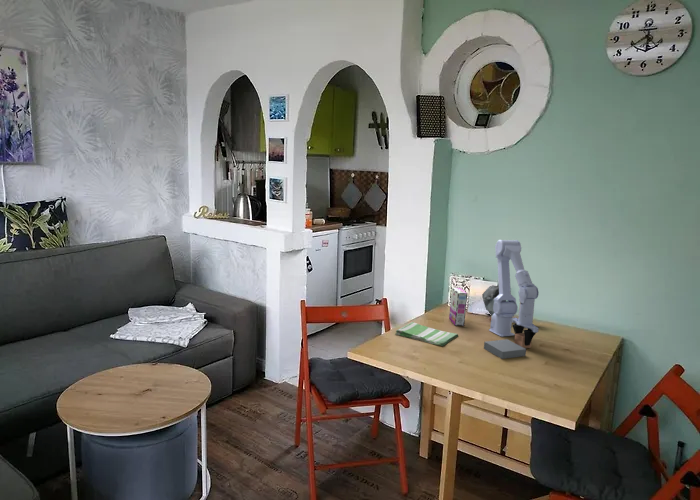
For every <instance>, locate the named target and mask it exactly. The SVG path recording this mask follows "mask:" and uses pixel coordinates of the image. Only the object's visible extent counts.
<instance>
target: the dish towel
mask: <svg viewBox="0 0 700 500" xmlns="http://www.w3.org/2000/svg"><path fill="white" fill-rule="evenodd" d="M395 335H398V336H401V337H405V338H409V339H413V340H417V341H421V342H424V343H427V344H430V345H431V344H432V345H435V346H441V347H443V346H445V345H446V344H448V343H449V342H450V341H452V340H453V339H456V338H458V337H459V334H458V333H456V332H448V331H444V330H440V329H436V328H433V327H430V326H426V325H421V324H420V323H416V322H414V321H412V322H410V323H407V324H406V325H404V326H402V327H400V328H399V329H396V330H395Z"/></svg>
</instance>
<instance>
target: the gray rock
mask: <svg viewBox="0 0 700 500" xmlns="http://www.w3.org/2000/svg"><path fill="white" fill-rule="evenodd" d="M498 295H499V284H498V285H494V284H492V285H490V286H489V287H487V288H486V289H485V291H483V292H482V295H481V297H482V299H483V300H482V301H483V304H484V308H485V310H486V311H488V312H489V313H490V314H491V315H490V318H489V321H491V317H492V315H493V314H494V311H493V305H494V299H495V298H496V297H497V296H498ZM502 301H507V300H502ZM488 312H487V313H488Z"/></svg>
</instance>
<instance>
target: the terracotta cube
mask: <svg viewBox="0 0 700 500" xmlns="http://www.w3.org/2000/svg"><path fill="white" fill-rule="evenodd" d="M514 334H515V333H514ZM532 340H533V339H532ZM532 340H531V343H530V345H527V346H526V345H525V334H524V332H523V333H517V334H515V335H514V341H513V343H515V344H517V345H519V346H521V347H523V348H525V349H529V348H532Z"/></svg>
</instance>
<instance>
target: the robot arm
mask: <svg viewBox="0 0 700 500" xmlns="http://www.w3.org/2000/svg"><path fill="white" fill-rule="evenodd" d="M521 244H522V243H521V242H520V241H519V240H518V239H515V240H514V239H511V240H510V239H498V240H497V241H496V244H495V246H494V248H495V249H494V250H495V258H496V259H497V260H496V261H497V279H498V285H499V295H498V296H497V297H496V298H495V299H494V305H493V311H494V314H493V315H492V317H491V316H490V318H491V320H490V326H489V327H490V328H488V331H489V332H491V333H494V334H495V335H497V336H498V337H501V338H502V337H511V336H515V334H517V333H524V334H525V345H526V346H527V345H530V343H531V344H532V342H531V340H533V338H534V337H535V335H536V333H539V327H537V326H536V325H535V324H534V323H533V324H532V319H533V320H534V313H533V311H535V302H536V299H538V297H539V288H538V286H537V285H535V283H533V281H532V279H531V276H530V273H529V271H528V270H525V268H524V267H525V266H524V262H523V259H522V255H521V252H522V245H521ZM510 261H511V263H512V265H513V268H514V270H515V272H516V273H515V275H514V277H515V279H516V282H517V284H518V287H519V289H518V297H519V299H518V300H519V306H520V310H519V309H518V304H517V299H516V297H514V296H513V295H512V293H511V292H512V291H511V290H512V289H511V274H510ZM502 300H506V301H502ZM517 312H518V318H519V319H518V318H517V317H514V316H515V315H516V314H517ZM512 323H514V324H512ZM512 329H513V332H514V333H513V332H512Z"/></svg>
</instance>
